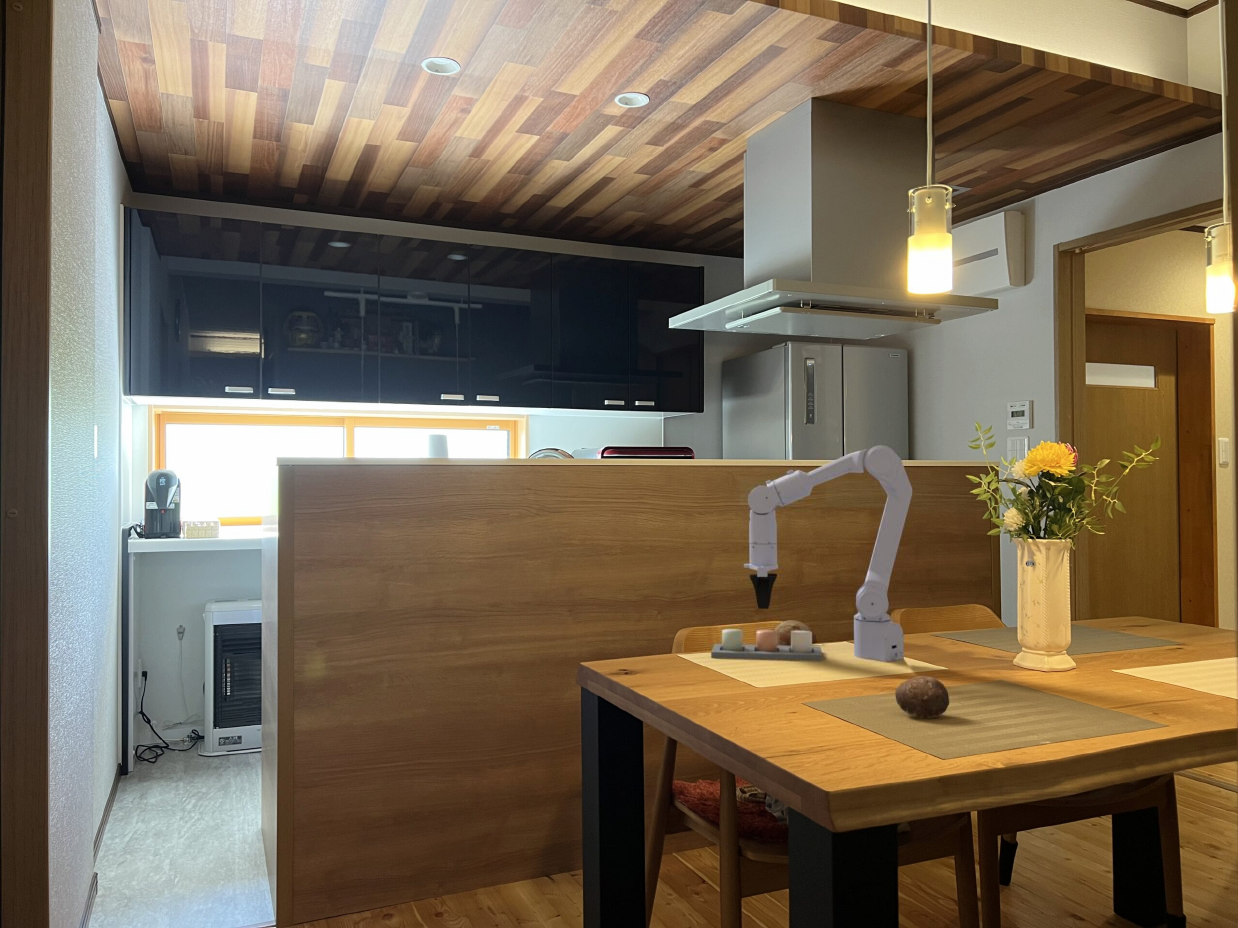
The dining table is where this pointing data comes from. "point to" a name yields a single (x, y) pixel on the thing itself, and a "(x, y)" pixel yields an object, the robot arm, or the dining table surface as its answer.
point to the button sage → (732, 639)
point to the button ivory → (801, 641)
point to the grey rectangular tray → (767, 653)
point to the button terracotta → (766, 640)
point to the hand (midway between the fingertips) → (763, 608)
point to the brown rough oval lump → (922, 697)
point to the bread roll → (791, 625)
